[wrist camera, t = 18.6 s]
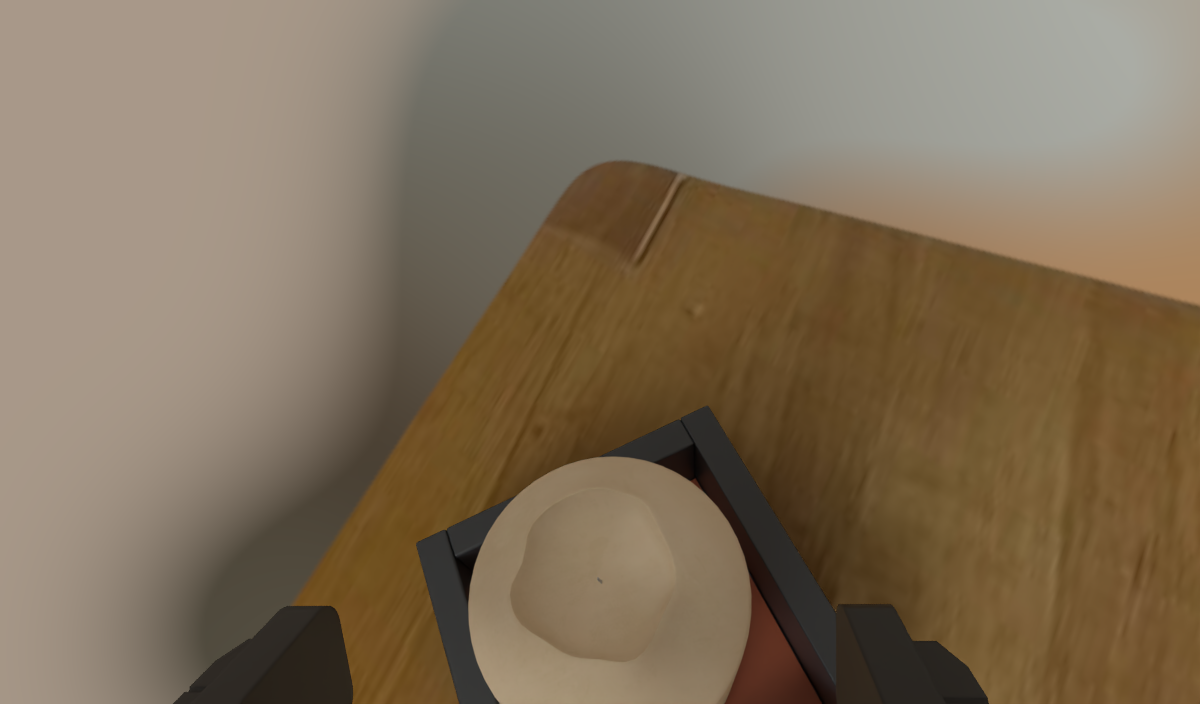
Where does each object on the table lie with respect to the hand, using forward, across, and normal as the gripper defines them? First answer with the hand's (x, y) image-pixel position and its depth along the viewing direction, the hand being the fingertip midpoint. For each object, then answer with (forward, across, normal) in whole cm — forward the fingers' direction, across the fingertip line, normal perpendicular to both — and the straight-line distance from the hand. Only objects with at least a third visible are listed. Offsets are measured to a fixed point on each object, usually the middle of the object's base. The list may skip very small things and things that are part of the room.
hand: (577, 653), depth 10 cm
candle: (+8, 0, +6) cm, 11 cm away
